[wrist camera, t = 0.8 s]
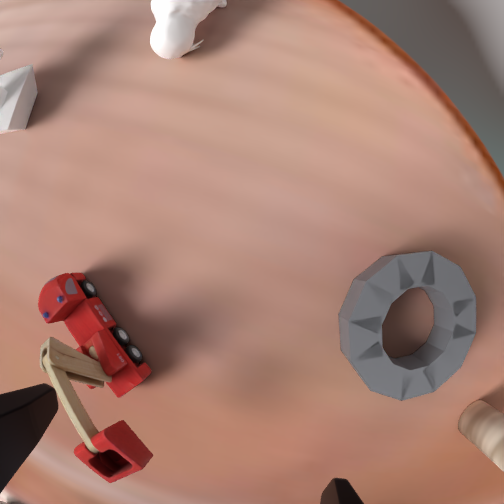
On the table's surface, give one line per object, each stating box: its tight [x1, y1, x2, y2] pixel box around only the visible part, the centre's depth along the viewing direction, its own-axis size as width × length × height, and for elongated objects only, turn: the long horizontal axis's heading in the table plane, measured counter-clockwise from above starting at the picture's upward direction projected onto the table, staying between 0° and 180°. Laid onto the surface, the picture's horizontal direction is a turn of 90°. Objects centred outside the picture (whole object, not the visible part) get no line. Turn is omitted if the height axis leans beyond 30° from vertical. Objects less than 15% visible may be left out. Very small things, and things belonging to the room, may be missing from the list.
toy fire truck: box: [38, 273, 153, 483], centre depth 18 cm, size 3×14×10 cm, turn 39°
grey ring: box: [339, 251, 476, 401], centre depth 20 cm, size 10×10×3 cm
